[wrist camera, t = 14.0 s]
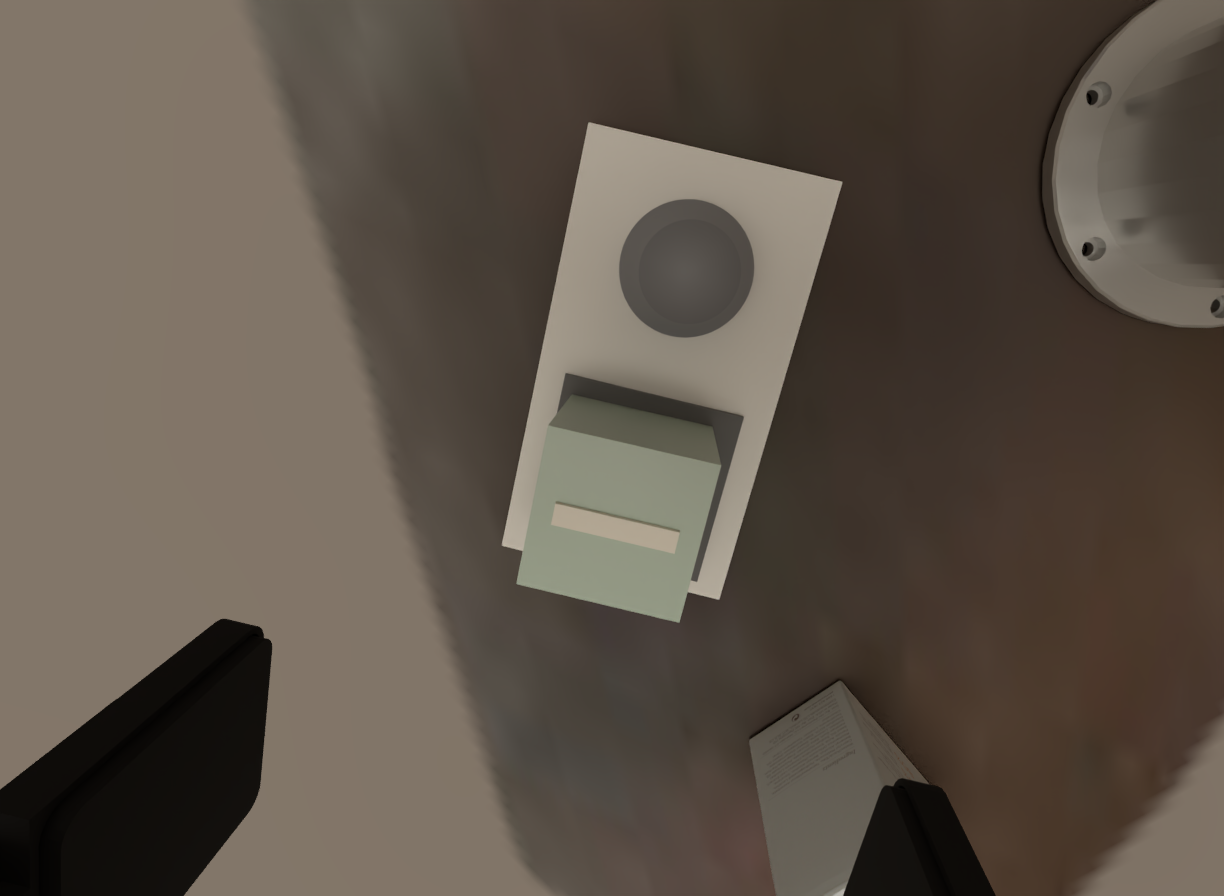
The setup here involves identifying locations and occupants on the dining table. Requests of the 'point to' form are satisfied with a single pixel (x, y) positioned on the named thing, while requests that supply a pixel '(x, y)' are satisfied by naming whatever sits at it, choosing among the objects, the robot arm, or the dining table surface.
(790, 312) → the post board
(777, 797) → the small box
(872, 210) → the dining table surface
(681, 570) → the green slotted box
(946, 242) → the dining table surface
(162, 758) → the robot arm
